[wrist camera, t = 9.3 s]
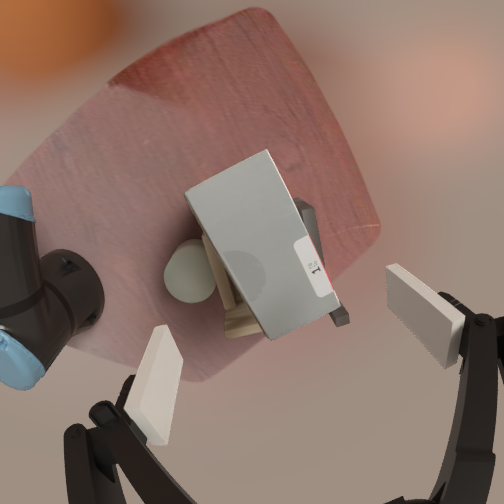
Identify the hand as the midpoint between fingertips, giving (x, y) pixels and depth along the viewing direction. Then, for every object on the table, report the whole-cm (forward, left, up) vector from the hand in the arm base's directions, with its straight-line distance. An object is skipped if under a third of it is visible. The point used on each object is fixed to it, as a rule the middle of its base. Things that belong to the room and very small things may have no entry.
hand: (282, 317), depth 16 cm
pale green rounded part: (-10, -4, -28) cm, 30 cm away
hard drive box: (0, +1, -28) cm, 28 cm away
